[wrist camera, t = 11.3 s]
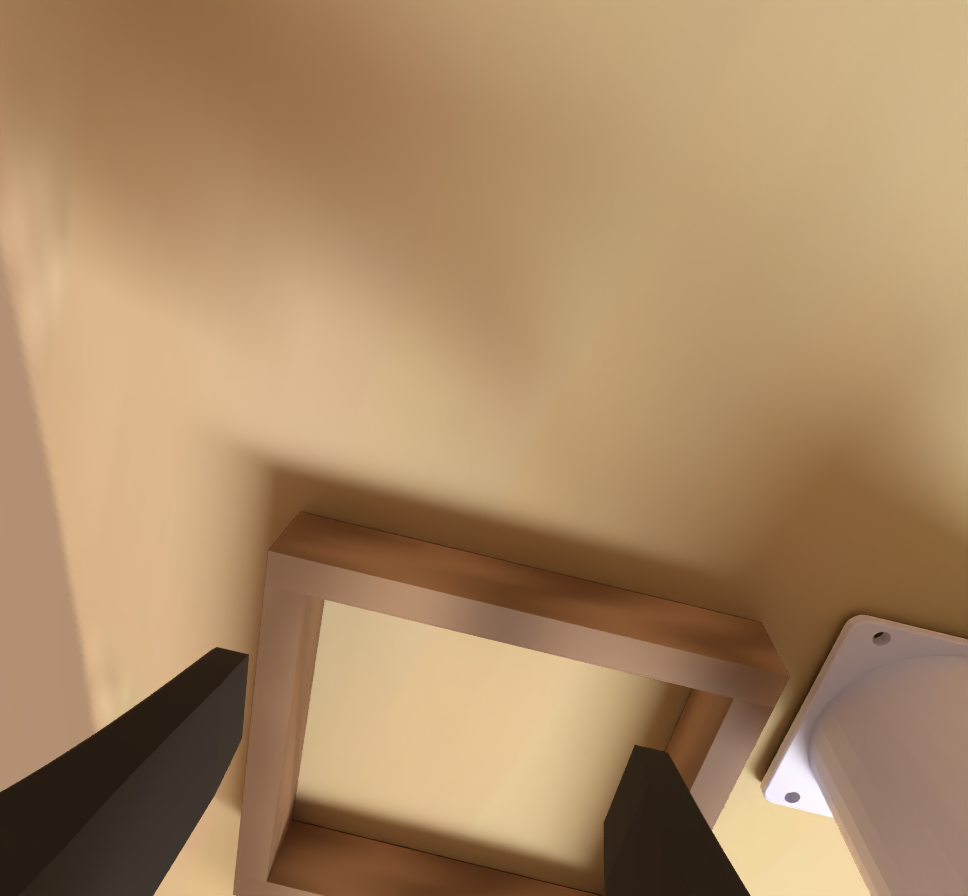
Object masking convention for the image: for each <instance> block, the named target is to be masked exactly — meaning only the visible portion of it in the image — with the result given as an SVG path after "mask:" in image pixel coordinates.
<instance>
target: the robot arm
mask: <svg viewBox="0 0 968 896" xmlns="http://www.w3.org/2000/svg"><path fill="white" fill-rule="evenodd" d="M879 632H884V633H883V634H882V635H881V636H879V637H877V638H873V636H874V635H875V634H877V633H879ZM248 660H249V655H248V654H244V653H240V652H235V651H231V650H227V649H222V648H218V647H216V648H214V649H213V650H211V651H209V652H208V653H207V654H205V655H204V656H203V657H201V658H200V659H199V660H197V661H196V662H195V663H193V664H192V665H191V666H189V667H188V668H187V669H185V670H184V671H183V672H181V673H180V674H179V675H177V676H176V677H175V678H173V679H172V680H171V681H169V682H168V683H166V684H165V685H164V686H162V687H161V688H160V689H158V690H157V691H156V692H154V693H153V694H151V695H150V696H149V697H147V698H146V699H144V700H143V701H142V702H140V703H139V704H137V705H136V706H134V707H133V708H132V709H130V710H129V711H127V712H126V713H124V714H123V715H122V716H120V717H119V718H117V719H116V720H114V721H113V722H112V723H110V724H109V725H107V726H106V727H104V728H103V729H101V730H100V731H98V732H97V733H95V734H94V735H92V736H91V737H89V738H88V739H86V740H85V741H83V742H81V743H80V744H78V745H77V746H75V747H74V748H72V749H70V750H69V751H67V752H66V753H64V754H63V755H61V756H60V757H58V758H56V759H55V760H53V761H52V762H50V763H49V764H47V765H45V766H44V767H42V768H41V769H39V770H37V771H36V772H34V773H32V774H31V775H29V776H27V777H26V778H24V779H22V780H21V781H19V782H17V783H16V784H14V785H12V786H10V787H9V788H7V789H5V790H3V791H2V792H0V896H153V895H154V893H155V892H156V890H157V889H158V887H159V885H160V884H161V882H162V880H163V879H164V877H165V876H166V874H167V872H168V871H169V869H170V867H171V866H172V864H173V863H174V861H175V859H176V858H177V856H178V854H179V853H180V851H181V850H182V848H183V846H184V845H185V843H186V841H187V840H188V838H189V837H190V835H191V833H192V832H193V830H194V828H195V827H196V825H197V823H198V822H199V820H200V819H201V817H202V815H203V814H204V812H205V810H206V809H207V807H208V805H209V804H210V802H211V800H212V799H213V797H214V795H215V793H216V791H217V789H218V787H219V785H220V783H221V781H222V779H223V777H224V775H225V773H226V771H227V769H228V767H229V765H230V763H231V760H232V758H233V756H234V754H235V752H236V750H237V748H238V745H239V743H240V741H241V739H242V731H243V720H244V708H245V696H246V684H247V672H248ZM760 787H761V790H762V793H763V795H764V798H765V799H766V800H767V801H769V802H772V803H775V804H779V805H784V806H788V807H792V808H796V809H800V810H804V811H808V812H812V813H816V814H821V815H825V816H829V817H833V818H834V820H835V822H836V824H837V826H838V828H839V830H840V832H841V834H842V836H843V838H844V841H845V843H846V845H847V847H848V849H849V851H850V853H851V855H852V857H853V859H854V861H855V864H856V866H857V868H858V870H859V872H860V874H861V876H862V878H863V880H864V882H865V884H866V887H867V889H868V891H869V893H870V895H871V896H968V639H965V638H960V637H956V636H952V635H948V634H944V633H940V632H935V631H931V630H927V629H923V628H919V627H915V626H910V625H906V624H902V623H898V622H894V621H890V620H885V619H881V618H877V617H873V616H869V615H858V616H854V617H852V618H851V619H849V620H848V621H847V622H846V624H845V625H844V627H843V629H842V631H841V633H840V635H839V637H838V638H837V640H836V642H835V644H834V646H833V648H832V650H831V652H830V654H829V655H828V657H827V659H826V661H825V663H824V665H823V667H822V669H821V671H820V672H819V674H818V676H817V678H816V680H815V682H814V684H813V686H812V688H811V689H810V691H809V693H808V695H807V697H806V699H805V701H804V703H803V705H802V706H801V708H800V710H799V712H798V714H797V716H796V718H795V720H794V721H793V723H792V725H791V727H790V729H789V731H788V733H787V735H786V737H785V738H784V740H783V742H782V744H781V746H780V748H779V750H778V752H777V754H776V755H775V757H774V759H773V761H772V763H771V765H770V767H769V769H768V771H767V772H766V774H765V776H764V778H763V780H762V782H761V786H760ZM790 792H791V793H790ZM604 880H605V894H606V896H750V894H749V892H748V891H747V889H746V888H745V886H744V884H743V883H742V881H741V879H740V878H739V876H738V874H737V873H736V871H735V869H734V868H733V866H732V864H731V863H730V861H729V859H728V858H727V856H726V854H725V853H724V851H723V849H722V848H721V846H720V844H719V842H718V841H717V839H716V837H715V835H714V834H713V832H712V830H711V828H710V827H709V825H708V823H707V821H706V820H705V818H704V816H703V814H702V813H701V811H700V809H699V807H698V805H697V804H696V802H695V800H694V798H693V796H692V795H691V793H690V791H689V789H688V787H687V785H686V784H685V782H684V780H683V778H682V776H681V775H680V773H679V771H678V769H677V767H676V766H675V764H674V762H673V760H672V758H671V757H670V755H669V753H667V752H663V751H659V750H655V749H650V748H646V747H642V746H638V745H635V746H634V749H633V751H632V754H631V756H630V759H629V761H628V764H627V766H626V769H625V771H624V774H623V776H622V779H621V781H620V784H619V786H618V789H617V791H616V794H615V796H614V799H613V801H612V804H611V806H610V809H609V811H608V814H607V816H606V819H605V821H604Z"/></svg>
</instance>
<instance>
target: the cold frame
mask: <svg viewBox="0 0 968 896" xmlns="http://www.w3.org/2000/svg"><path fill="white" fill-rule="evenodd" d="M324 599H325V600H329V601H333V602H337V603H341V604H345V605H350V606H354V607H358V608H362V609H366V610H370V611H374V612H379V613H383V614H387V615H391V616H395V617H399V618H403V619H408V620H412V621H416V622H420V623H424V624H428V625H432V626H436V627H441V628H445V629H449V630H453V631H457V632H461V633H465V634H470V635H474V636H478V637H482V638H486V639H490V640H494V641H499V642H503V643H507V644H511V645H515V646H519V647H523V648H527V649H532V650H536V651H540V652H544V653H548V654H552V655H556V656H561V657H565V658H569V659H573V660H577V661H581V662H585V663H590V664H594V665H598V666H602V667H606V668H610V669H614V670H619V671H623V672H627V673H631V674H635V675H639V676H643V677H647V678H652V679H656V680H660V681H664V682H668V683H672V684H676V685H681V686H685V687H689V688H693V689H692V691H691V693H690V696H689V698H688V700H687V703H686V705H685V707H684V709H683V712H682V714H681V716H680V718H679V721H678V723H677V725H676V728H675V730H674V732H673V734H672V737H671V739H670V741H669V744H668V746H667V748H666V750H665V752H667V753H669V755H670V757H671V758H672V760H673V762H674V764H675V766H676V767H677V769H678V771H679V773H680V775H681V776H682V778H683V780H684V782H685V784H686V785H687V787H688V789H689V791H690V793H691V795H692V796H693V798H694V800H695V802H696V804H697V805H698V807H699V809H700V811H701V813H702V814H703V816H704V818H705V820H706V821H707V823H708V825H709V827H710V828H711V830H712V829H713V827H714V825H715V823H716V821H717V819H718V817H719V815H720V813H721V811H722V809H723V807H724V805H725V803H726V801H727V799H728V797H729V795H730V793H731V791H732V789H733V787H734V786H735V784H736V782H737V780H738V778H739V776H740V774H741V772H742V770H743V768H744V766H745V764H746V762H747V760H748V758H749V756H750V754H751V752H752V750H753V748H754V746H755V744H756V742H757V740H758V738H759V736H760V734H761V732H762V731H763V729H764V727H765V725H766V723H767V721H768V719H769V717H770V715H771V713H772V711H773V709H774V707H775V705H776V703H777V701H778V699H779V697H780V695H781V693H782V691H783V689H784V687H785V685H786V683H787V681H788V679H789V677H790V675H789V674H788V672H787V670H786V668H785V666H784V664H783V662H782V660H781V658H780V657H779V655H778V653H777V651H776V649H775V647H774V645H773V643H772V642H771V640H770V638H769V636H768V634H767V632H766V630H765V628H764V626H763V625H762V623H761V622H756V621H752V620H748V619H744V618H740V617H736V616H732V615H727V614H723V613H719V612H715V611H711V610H707V609H702V608H698V607H694V606H690V605H686V604H682V603H677V602H673V601H669V600H665V599H661V598H657V597H653V596H648V595H644V594H640V593H636V592H632V591H628V590H623V589H619V588H615V587H611V586H607V585H603V584H598V583H594V582H590V581H586V580H582V579H578V578H574V577H569V576H565V575H561V574H557V573H553V572H549V571H544V570H540V569H536V568H532V567H528V566H524V565H519V564H515V563H511V562H507V561H503V560H499V559H495V558H490V557H486V556H482V555H478V554H474V553H470V552H465V551H461V550H457V549H453V548H449V547H445V546H440V545H436V544H432V543H428V542H424V541H420V540H416V539H411V538H407V537H403V536H399V535H395V534H391V533H386V532H382V531H378V530H374V529H370V528H366V527H361V526H357V525H353V524H349V523H345V522H341V521H337V520H332V519H328V518H324V517H320V516H316V515H312V514H307V513H303V512H300V513H299V514H298V515H297V516H296V517H295V519H294V520H293V521H292V522H291V524H290V525H289V526H288V527H287V528H286V530H285V531H284V532H283V533H282V534H281V536H280V537H279V538H278V539H277V540H276V542H275V543H274V544H273V545H272V547H271V548H270V549H269V550H268V557H267V567H266V577H265V586H264V596H263V606H262V616H261V625H260V635H259V645H258V655H257V665H256V674H255V684H254V694H253V704H252V714H251V723H250V733H249V743H248V753H247V762H246V772H245V782H244V792H243V802H242V811H241V821H240V831H239V841H238V851H237V860H236V870H235V880H234V890H233V895H236V896H599V895H595V894H591V893H587V892H583V891H579V890H575V889H571V888H566V887H562V886H558V885H554V884H550V883H546V882H542V881H538V880H534V879H530V878H526V877H522V876H518V875H513V874H509V873H505V872H501V871H497V870H493V869H489V868H485V867H481V866H477V865H473V864H469V863H464V862H460V861H456V860H452V859H448V858H444V857H440V856H436V855H432V854H428V853H424V852H420V851H416V850H411V849H407V848H403V847H399V846H395V845H391V844H387V843H383V842H379V841H375V840H371V839H367V838H362V837H358V836H354V835H350V834H346V833H342V832H338V831H334V830H330V829H326V828H322V827H318V826H314V825H309V824H305V823H301V822H297V821H293V820H292V817H293V811H294V804H295V797H296V790H297V783H298V776H299V770H300V763H301V756H302V749H303V742H304V735H305V729H306V722H307V715H308V708H309V701H310V694H311V687H312V681H313V674H314V667H315V660H316V653H317V646H318V640H319V633H320V626H321V619H322V612H323V605H324ZM602 896H606V894H605V889H604V892H603V894H602Z"/></svg>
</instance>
